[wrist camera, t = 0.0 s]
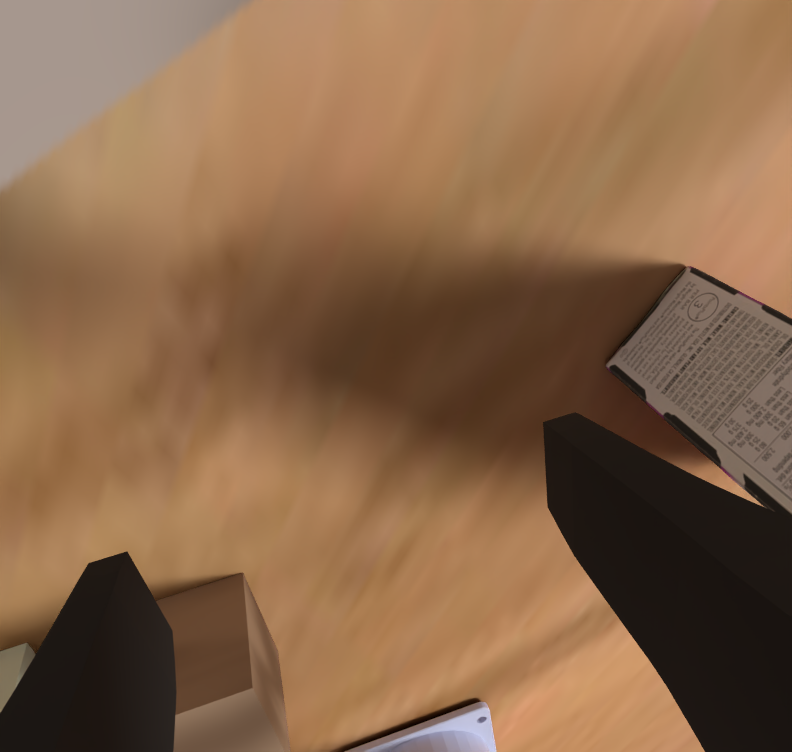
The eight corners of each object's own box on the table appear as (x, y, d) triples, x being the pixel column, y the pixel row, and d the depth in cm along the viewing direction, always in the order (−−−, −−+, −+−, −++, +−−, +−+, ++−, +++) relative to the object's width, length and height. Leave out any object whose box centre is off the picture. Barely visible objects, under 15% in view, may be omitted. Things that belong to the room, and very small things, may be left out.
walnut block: (277, 648, 27) (292, 766, 23) (159, 689, 27) (153, 818, 22) (242, 570, 25) (252, 688, 20) (110, 614, 24) (92, 744, 20)
